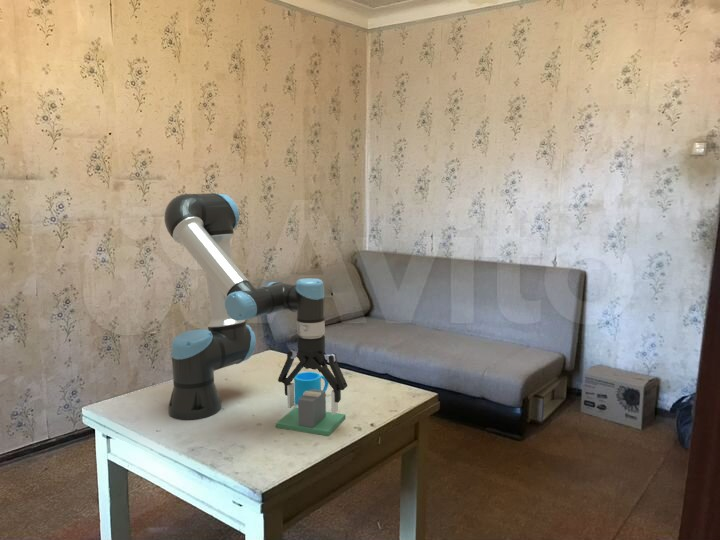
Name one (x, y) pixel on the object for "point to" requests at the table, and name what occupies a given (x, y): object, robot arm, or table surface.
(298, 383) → the mug
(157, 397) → the table surface
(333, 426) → the board
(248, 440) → the table surface
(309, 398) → the grey block with band
